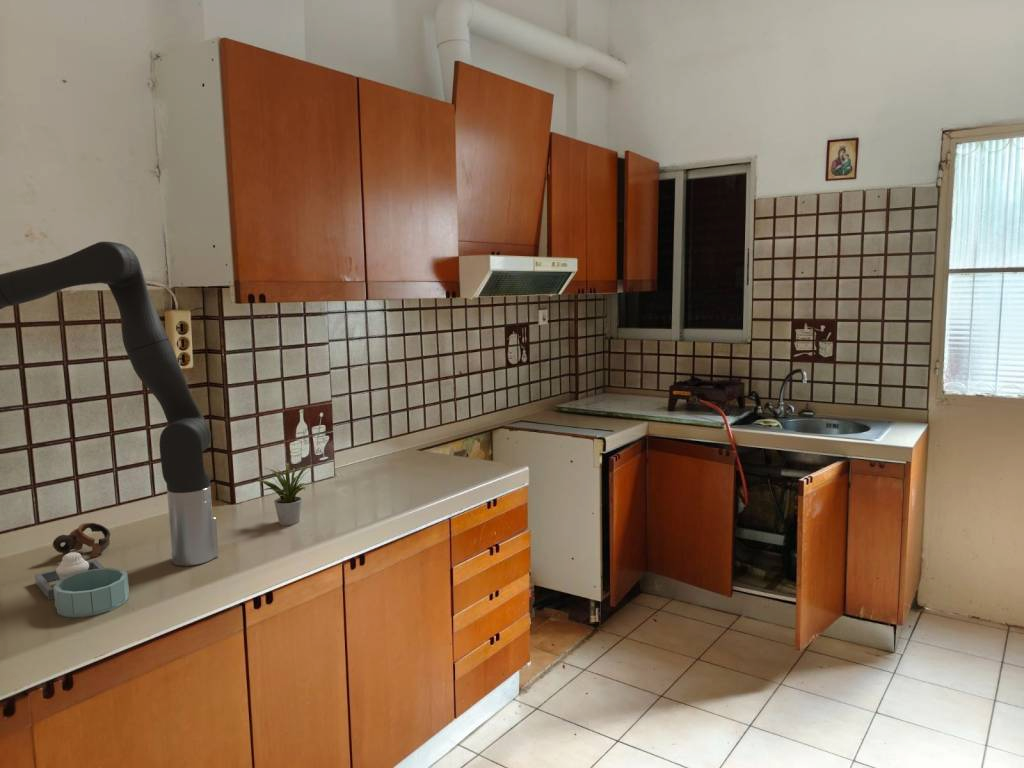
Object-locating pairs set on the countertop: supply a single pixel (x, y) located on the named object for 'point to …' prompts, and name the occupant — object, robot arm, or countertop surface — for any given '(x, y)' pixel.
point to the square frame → (51, 575)
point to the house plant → (287, 496)
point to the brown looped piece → (83, 540)
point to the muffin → (71, 565)
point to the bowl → (91, 592)
